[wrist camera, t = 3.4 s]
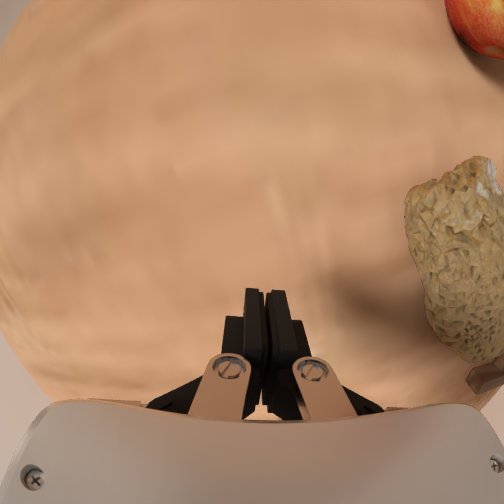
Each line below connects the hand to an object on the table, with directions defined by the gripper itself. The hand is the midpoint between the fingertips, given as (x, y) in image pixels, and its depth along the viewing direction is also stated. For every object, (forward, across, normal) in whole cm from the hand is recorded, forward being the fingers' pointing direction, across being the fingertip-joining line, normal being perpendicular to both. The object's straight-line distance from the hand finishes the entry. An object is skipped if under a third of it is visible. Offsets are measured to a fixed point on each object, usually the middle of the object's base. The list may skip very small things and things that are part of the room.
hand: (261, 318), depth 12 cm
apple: (+8, -16, -23) cm, 29 cm away
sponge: (+8, -19, 0) cm, 20 cm away
